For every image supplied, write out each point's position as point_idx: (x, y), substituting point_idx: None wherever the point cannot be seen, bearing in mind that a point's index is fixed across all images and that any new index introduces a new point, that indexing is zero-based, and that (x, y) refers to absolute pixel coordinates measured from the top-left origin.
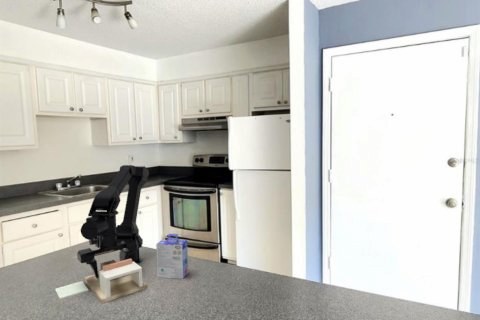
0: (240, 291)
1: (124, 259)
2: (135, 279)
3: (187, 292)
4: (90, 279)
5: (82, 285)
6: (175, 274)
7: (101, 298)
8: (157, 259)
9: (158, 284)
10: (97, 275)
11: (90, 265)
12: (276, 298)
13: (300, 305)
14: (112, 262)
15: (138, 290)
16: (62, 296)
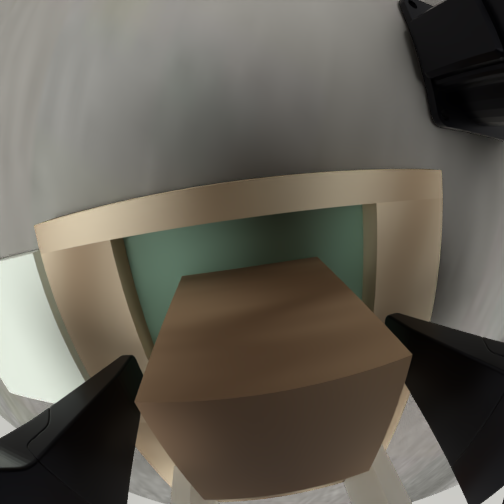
0: None
1: (446, 455)
2: (356, 481)
3: (414, 473)
4: (84, 311)
5: (52, 338)
6: None
7: None
8: None
9: (411, 441)
10: (135, 409)
11: (23, 438)
12: (453, 474)
13: (448, 483)
14: (341, 443)
15: None
16: (11, 386)
